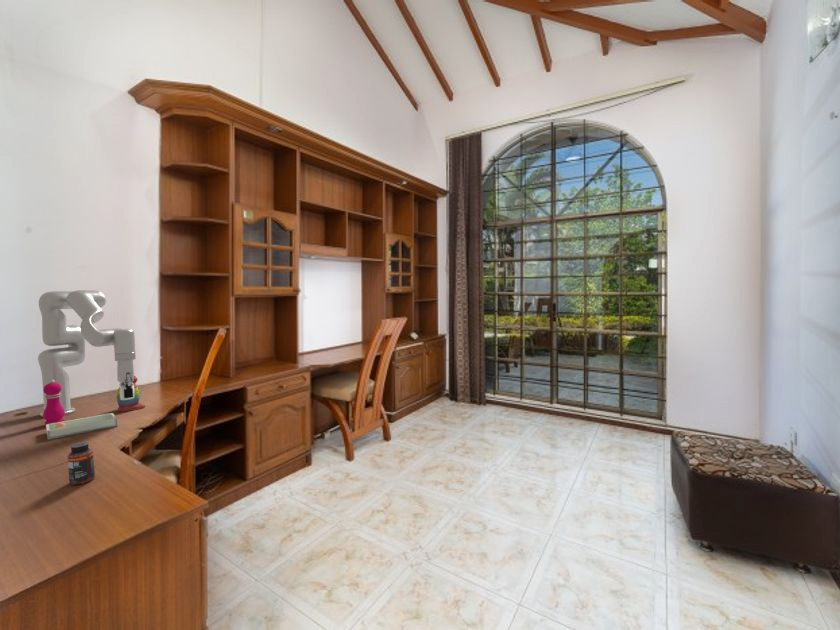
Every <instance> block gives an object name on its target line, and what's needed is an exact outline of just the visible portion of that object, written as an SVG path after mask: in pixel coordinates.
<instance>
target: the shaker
mask: <svg viewBox="0 0 840 630" xmlns="http://www.w3.org/2000/svg"><path fill="white" fill-rule="evenodd" d="M119 387H120V400H129V399H133V398H135V395H134V383H133V382H132V388H133V397H131V398H124V383H123V384H120V383H119Z"/></svg>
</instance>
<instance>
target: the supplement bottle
mask: <svg viewBox="0 0 840 630" xmlns="http://www.w3.org/2000/svg"><path fill="white" fill-rule="evenodd" d="M89 447H90V446H89V442H88V441H87V442H83V441H82V442H78V443H75V444H73V445H70V453H68V455H67V467H68V470H67V471H68V480H69V485H71V486H78V485H83V484H86V483H89V482H92V480H94V479H95V478H96V476H95V473H96V471H95V458H94V451H93V449H92V448H89Z"/></svg>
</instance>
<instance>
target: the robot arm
mask: <svg viewBox="0 0 840 630" xmlns="http://www.w3.org/2000/svg"><path fill="white" fill-rule="evenodd" d="M106 303H107V299H106V296H105V295H104V293H103V292H101V291H100V290H92V289H91V290H89V289H88V290H87V289H86V290H84V289H82V290H81V289H80V290H74V291H73V290H72V291H71V290H70V291H67V290H65V291H63V290H58V291H57V290H56V291H47V292H44V293H43V294H41V295H40V296H39V299H38V308H39V311H40V315H41V318H42V320H41V321H42V322H41V324H42V325H41V327H42V329H41V331H42V332H41V334H42V342H43V343H44V345H45V346H49V347H54V348H50V349H46V350H43V351H41V352H39V354H38V356H37V361H38V364H39V367H40V371H41V379H42V381H41V382H42V383H41V384H42V389H43V388H44V387H45V385H47V384H50V380H55V382H54V383H58V384H60V385H61V387H62V390H61V391H60V392H59V393H61V394H60V395H61V396H60V399H59V400H60V404H61V406H62V407H63V408H64V410H65V415H68V414H72V413H74V412H75V411H76V408H75V407H72V406H71V389H70V376H69V374H68V372H67V371H66V370H65V369H64V368H65V367H72V366H79V365H81V364H82V363H83V362H85V358H86V341H87V343H88V344H89V345H91V346H93V347H97V348H99V347H109V346H113V347H114V348H113V350H114V351H113V352H114V361H115V362H117V364H116V365H117V366H116V370H117V371H116V372H117V373H116V374H117V382H118V383H119V384H120V383H122V384H123V383H124V398H131V397H133V388H132V382H133V381H134V376H135V375H134V374H135V373H134V361H133V360H136V344H135V331H134V330H133V329H131V328H106V329H102V328H101V329H97V328H96V327H95V326H94V325H93V324H95V323H98V322H99V321H100V320H101V319H102V318H103V317H104V316H105V311H104V310H103V308H102V307H104V306H105V305H106ZM63 310H73V311H74V312H75V313H76V314H77V316H78V317H79V318H80V319H81V322H80V325H76V324H69V325H68V324H67V317H66V314H65V313H64V312H63ZM56 346H66V347H56ZM42 395H43V397H42V398H43V411H42V412H40V413H39V416H40V417H42V418H43V413H44V410H45V408H46V406H47V398H45V397H46V396H45V395H46V394H45V393H44V391H43V390H42Z"/></svg>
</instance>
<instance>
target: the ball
mask: <svg viewBox="0 0 840 630" xmlns="http://www.w3.org/2000/svg"><path fill="white" fill-rule="evenodd" d="M65 427H66V425H65V423H63V422H60V423H58V424H56V426H55V428H56V429H59V428H65Z"/></svg>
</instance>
